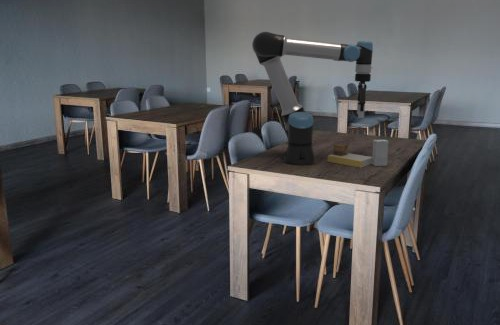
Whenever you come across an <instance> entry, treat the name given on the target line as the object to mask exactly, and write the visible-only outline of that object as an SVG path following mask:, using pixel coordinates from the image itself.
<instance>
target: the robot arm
mask: <svg viewBox="0 0 500 325" xmlns="http://www.w3.org/2000/svg"><path fill="white" fill-rule="evenodd" d="M251 44H252V50H253V52H254V53H255V56H256V58H257V60H258V62H259V65H261V66H263V67H264V69H265V72H266V74H267V76H268V79H269V81H270V83H271V86H272V88H273V91H274V93H275V95H276V98H277V100H278V103H279V105H280V108H281V110H282V111H281V114H280V116H281V117H282V120H283V122H284V126H285V128H286V130H287V131H288V132H287V134H288V136H287V138H288V139H287V141H288V142H287V147H286V151H285V152H284V153H285V154H284V155H283V161H284V163H285V164H289V165H295V166H308V165H314V164H315V163H316V156H315V153H314V148H313V135H314V134H313V132H314V116H313V115H312V114H311V113H310V112H305V109H304V107H303V105H302V104H299V102H298V100H297V97H296V95H295V92H294V90H293V88H292V85H291V82H290V80H289V77H288V74H287V72H286V70H285V67H284V66H283V63H282V61H281V58H282V57H284V56H294V57H303V58H304V57H305V58H312V59H322V60H323V59H325V60H331V61H335V62H349V63H353V62H355V70H354V71H355V73H356V74H355V75H354V81H355V82H358V85H357V97H356V98H357V104H356V107H357V108H356V115H358V117H357V118H358V119H365V109H366V106H365V104H366V94H367V93H366V92H367V88H368V87H367V84H366V83H367V82H371V76H372V74H371V73H372V69H373V68H374V67H373V66H372V64H373V62H372V60H373V52H374V50H373V45H374V44H373V42H372V41H369V40H368V41H367V40H365V41H364V40H363V41H362V40H358V41H357V43H356V44H347V43H336V42H329V41H319V40H309V39H300V38H299V39H298V38H290V37H287V36H286V35H284V34H277V33H273V32H270V31H262V32H260V33H258V34H256V35H255V36H254V38H253V41H252V42H251Z"/></svg>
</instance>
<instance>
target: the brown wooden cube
mask: <svg viewBox="0 0 500 325" xmlns="http://www.w3.org/2000/svg"><path fill="white" fill-rule="evenodd" d="M348 153H349V144H346V143H336V144H333V153H332V154H333V155H338V156H345V155H348Z"/></svg>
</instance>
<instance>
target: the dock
mask: <svg viewBox="0 0 500 325" xmlns="http://www.w3.org/2000/svg"><path fill="white" fill-rule="evenodd" d="M327 162H329V163H333V164H340V165H343V166H344V165H345V166H348V167H349V166H350V167H355V168H364V167H366V166H369V165H373V164H372V156H370V155H369V156H367V155H362V154H355V153H351V152H348V155H345V156H338V155H333V153H331V154H329V155H327Z"/></svg>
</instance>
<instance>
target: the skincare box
mask: <svg viewBox="0 0 500 325" xmlns="http://www.w3.org/2000/svg"><path fill="white" fill-rule="evenodd" d="M388 153H389V140H387V139H373V142H372V156H371V157H372V164H371V165H373V166H374V167H385V166H387V165H388V157H389V154H388Z"/></svg>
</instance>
